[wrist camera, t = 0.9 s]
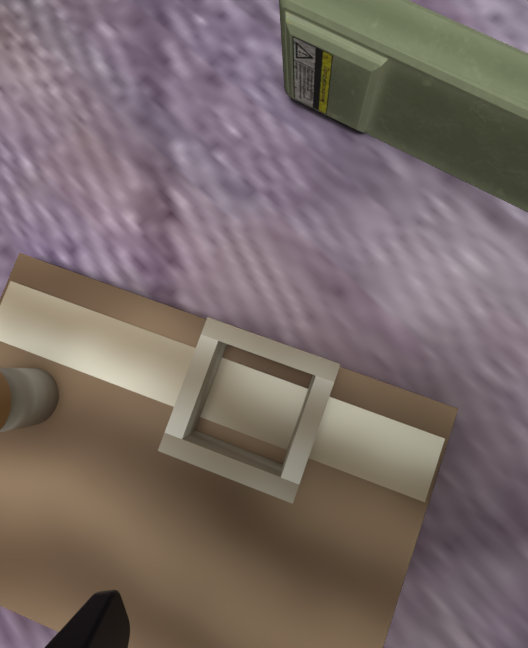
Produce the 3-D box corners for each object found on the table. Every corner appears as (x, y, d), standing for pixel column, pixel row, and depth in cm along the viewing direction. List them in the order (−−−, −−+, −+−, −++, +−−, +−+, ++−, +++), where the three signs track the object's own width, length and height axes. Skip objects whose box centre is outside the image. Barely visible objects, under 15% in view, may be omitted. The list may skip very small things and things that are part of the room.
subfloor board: (342, 731, 20) (355, 823, 16) (-80, 544, 22) (-162, 583, 18) (446, 405, 21) (482, 414, 17) (36, 260, 23) (-16, 237, 19)
